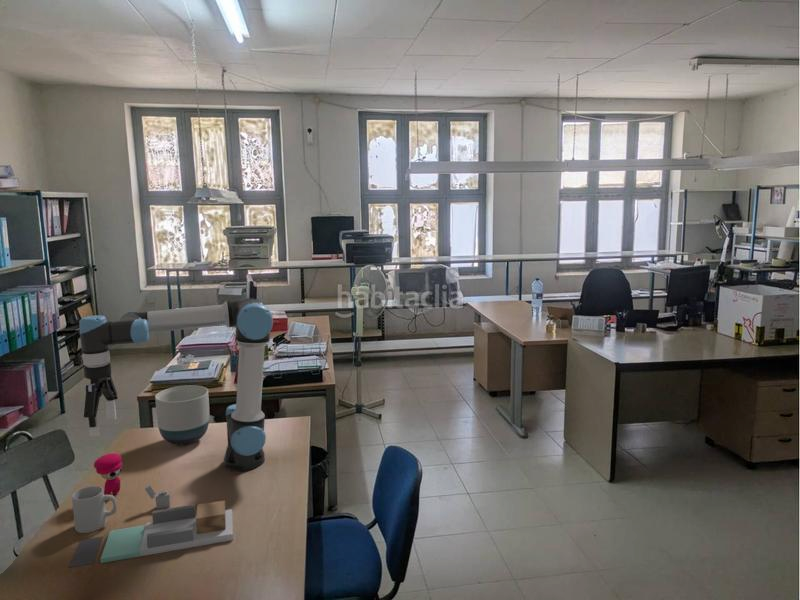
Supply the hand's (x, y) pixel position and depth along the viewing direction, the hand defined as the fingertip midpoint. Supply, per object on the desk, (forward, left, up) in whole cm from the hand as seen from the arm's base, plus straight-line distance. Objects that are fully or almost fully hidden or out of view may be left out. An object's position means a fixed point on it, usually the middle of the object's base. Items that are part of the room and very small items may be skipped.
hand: (103, 427), depth 177 cm
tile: (-8, +27, -26) cm, 39 cm away
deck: (-26, +27, -26) cm, 46 cm away
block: (-32, +27, -24) cm, 49 cm away
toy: (+1, -4, -27) cm, 27 cm away
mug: (+2, +13, -27) cm, 30 cm away
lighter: (-15, +8, -27) cm, 32 cm away
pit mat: (+2, +27, -26) cm, 38 cm away
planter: (-20, -43, -27) cm, 54 cm away
